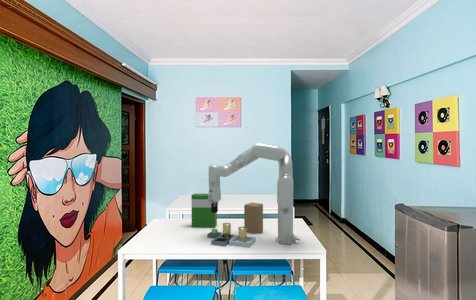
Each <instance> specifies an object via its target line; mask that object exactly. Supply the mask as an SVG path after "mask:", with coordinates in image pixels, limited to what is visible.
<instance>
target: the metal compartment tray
mask: <svg viewBox="0 0 476 300" xmlns="http://www.w3.org/2000/svg"><path fill="white" fill-rule="evenodd" d="M236 235H237V234H231V238H223V233H222V235H220V236H219V237H217V238H213V239H212V240H211V241H210V245H211V246H220V247H227V246H228V245H229V241H230V240H231V239H232V238H234V237H235V236H236Z"/></svg>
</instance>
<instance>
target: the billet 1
mask: <svg viewBox="0 0 476 300" xmlns="http://www.w3.org/2000/svg"><path fill="white" fill-rule="evenodd" d="M231 226H232V224H231V223H230V222H223V223H222V234H223V238H231V235H232V232H231V231H232V230H231V229H232V227H231Z"/></svg>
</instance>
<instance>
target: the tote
mask: <svg viewBox="0 0 476 300" xmlns="http://www.w3.org/2000/svg"><path fill="white" fill-rule="evenodd" d="M235 235H236V236H235V237H234V238H232V239H231V240H230V241H229V244H228V245H229V246H233V247H241V248H251V247H252V245H254V244H255V243H256V241H257V240H256V237H255V236H248V235H247V243H246V242H239V237H238V235H237V234H235Z"/></svg>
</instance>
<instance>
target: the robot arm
mask: <svg viewBox="0 0 476 300" xmlns="http://www.w3.org/2000/svg"><path fill="white" fill-rule="evenodd" d="M260 158H261V159H266V160H270V161H277V163H278V179H277V182H276V183H277V185H276V191H277V192H276V194H277V195H276V201H277V237H276V238H275V242H276V243H278V244H281V245H292V244H295V243H296V241H298V242H300V241H301V237H299V236H296V235H295V233H294V178H293V171H294V170H293V160H292V157H291V155H290V153H289V152H288V151H287V150H286V149H284V148H283V147H280V146H274V145H268V144H264V143H261V142H257V143H254V144H253V145H252V146H251V147H249V148H248V149H247V150H244V151H243V152H241V153H240V154H239V155H238V156H237V157H236V158H234V159H232V160H231V161H230V162H228V163H226V164H224V165H218V164H211V165H209V166H208V194H209V195H208V199H209V202H210V203H209V204H211V212H212V213H216V212H217V213H218V211H219V207H218V206H219V202H220V201H221V200H222V192H221V191H222V190H221V177H222V178H226V177H229V176H231V175H233V174H234V173H236V172H238V171H240V169H241V170H242V169H243V168H244V167H247V166H248V165H250V164H252V163H253V162H255V161H256V160H258V159H260ZM212 201H213V202H212Z"/></svg>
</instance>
